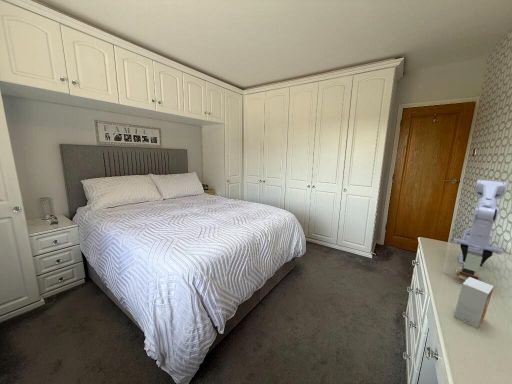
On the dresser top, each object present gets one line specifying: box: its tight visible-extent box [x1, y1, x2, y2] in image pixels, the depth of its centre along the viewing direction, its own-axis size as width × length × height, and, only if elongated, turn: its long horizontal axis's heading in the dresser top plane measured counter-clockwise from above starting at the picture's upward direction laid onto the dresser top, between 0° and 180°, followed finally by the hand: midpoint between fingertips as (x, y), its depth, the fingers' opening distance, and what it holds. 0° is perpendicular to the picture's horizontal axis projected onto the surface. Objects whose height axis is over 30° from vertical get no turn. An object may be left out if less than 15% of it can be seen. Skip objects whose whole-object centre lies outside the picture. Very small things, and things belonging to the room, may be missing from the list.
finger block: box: [464, 250, 482, 273], centre depth 94 cm, size 6×4×7 cm
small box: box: [453, 277, 495, 329], centre depth 73 cm, size 8×6×13 cm
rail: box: [454, 262, 481, 284], centre depth 98 cm, size 16×8×6 cm, turn 136°
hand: (471, 263), depth 94 cm, fingers closed on finger block, 4 cm apart
